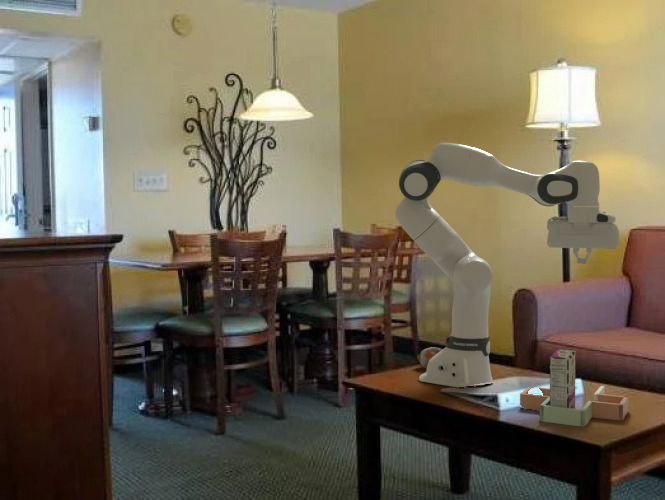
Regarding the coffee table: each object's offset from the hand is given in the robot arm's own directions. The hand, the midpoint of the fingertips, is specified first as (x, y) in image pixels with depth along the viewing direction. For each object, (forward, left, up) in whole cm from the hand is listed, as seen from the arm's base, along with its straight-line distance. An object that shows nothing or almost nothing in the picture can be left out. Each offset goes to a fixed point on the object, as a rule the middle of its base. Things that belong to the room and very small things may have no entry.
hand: (582, 263), depth 232 cm
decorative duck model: (-47, +8, -37) cm, 61 cm away
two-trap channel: (+3, -26, -37) cm, 45 cm away
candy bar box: (+2, -34, -37) cm, 50 cm away
